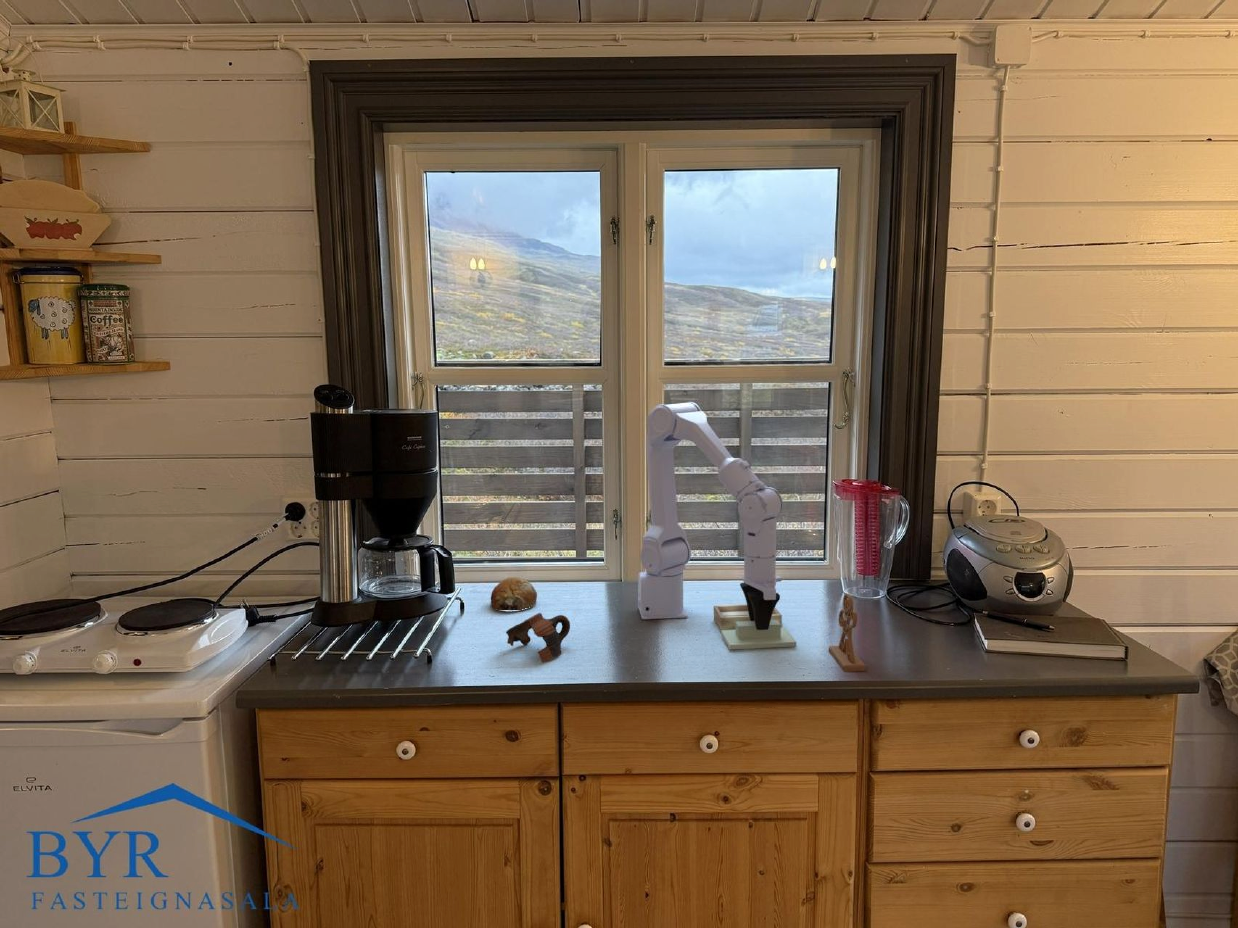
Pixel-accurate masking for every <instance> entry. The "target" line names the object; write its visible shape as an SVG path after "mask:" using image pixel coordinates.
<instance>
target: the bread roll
mask: <svg viewBox="0 0 1238 928" xmlns="http://www.w3.org/2000/svg"><path fill="white" fill-rule="evenodd" d="M537 599H538V592H537V591H536V589H535V587H534V586H533V584H532V583H531V582H530V581H528V580H527V579H525V578H522V577H520V576H519V577H518V576H513V577H511V576H510V577H506V578H504V579H503V580H501V581H500V582H499V583H498V584H497V585H495V586H494V587H493V590H492V591H491V595H490V605H491V607H492V608H493V609H494V610H495V609H497V610H522V609H525V608H529V607H531V608H532V607H534V606H536V604H535V603H537ZM533 605H534V606H533ZM497 610H496V611H497Z"/></svg>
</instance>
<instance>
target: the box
mask: <svg viewBox="0 0 1238 928" xmlns="http://www.w3.org/2000/svg"><path fill="white" fill-rule="evenodd" d="M771 620H778V622H779V623H780V624H781V628H782V627H783V626H782V625H783V614H782V613H781V612H780V611H779V610H778V608H777V607H775V608H774V610H773V613H772V617H771ZM713 621H714V623H715V625H716V626H717V628H718V630H719V632H720V633H721V630H735V622H743V621H750V617H749V613H748V607H747V603H746V604H729V605H728V604H725V605H713Z"/></svg>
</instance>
